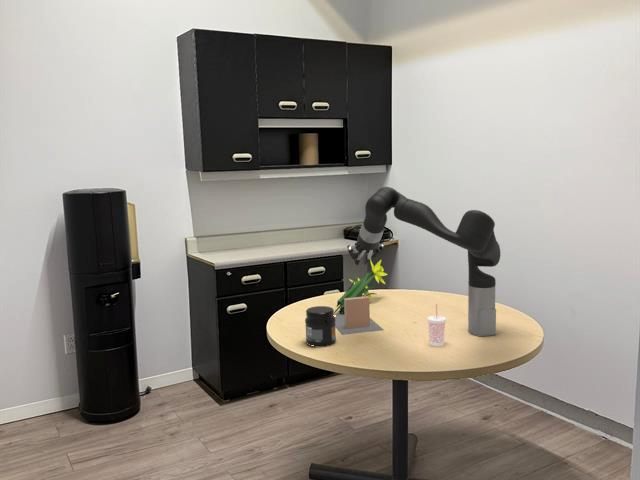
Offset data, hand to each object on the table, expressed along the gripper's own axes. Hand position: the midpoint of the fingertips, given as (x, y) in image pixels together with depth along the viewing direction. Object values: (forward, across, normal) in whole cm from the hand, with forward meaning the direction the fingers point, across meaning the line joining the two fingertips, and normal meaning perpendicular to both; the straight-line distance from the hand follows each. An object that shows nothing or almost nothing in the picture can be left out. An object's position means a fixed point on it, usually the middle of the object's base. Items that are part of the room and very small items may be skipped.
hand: (360, 262), depth 211 cm
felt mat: (+27, 0, -10) cm, 29 cm away
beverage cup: (+4, +20, -33) cm, 39 cm away
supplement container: (+14, -17, -23) cm, 32 cm away
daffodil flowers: (+42, +10, +6) cm, 44 cm away
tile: (+22, 0, -14) cm, 26 cm away
